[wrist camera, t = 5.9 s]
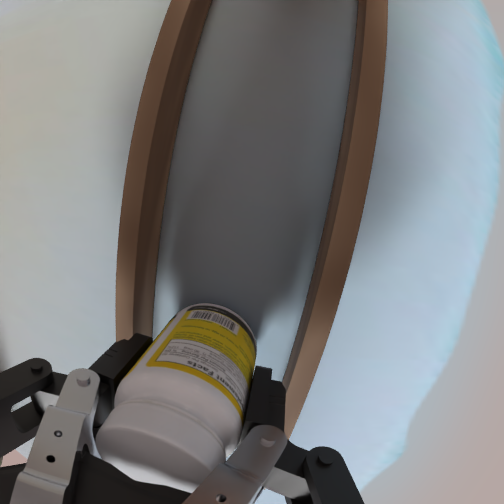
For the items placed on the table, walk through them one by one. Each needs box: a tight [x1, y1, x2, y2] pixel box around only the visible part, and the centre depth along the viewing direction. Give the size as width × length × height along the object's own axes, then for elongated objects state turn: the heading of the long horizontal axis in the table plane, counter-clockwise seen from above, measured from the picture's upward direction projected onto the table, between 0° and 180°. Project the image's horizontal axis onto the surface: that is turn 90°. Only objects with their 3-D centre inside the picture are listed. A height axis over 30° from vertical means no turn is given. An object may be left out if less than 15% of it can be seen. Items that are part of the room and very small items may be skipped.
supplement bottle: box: [95, 303, 257, 493], centre depth 11 cm, size 5×5×8 cm
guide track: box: [116, 0, 388, 489], centre depth 12 cm, size 10×32×4 cm, turn 169°
